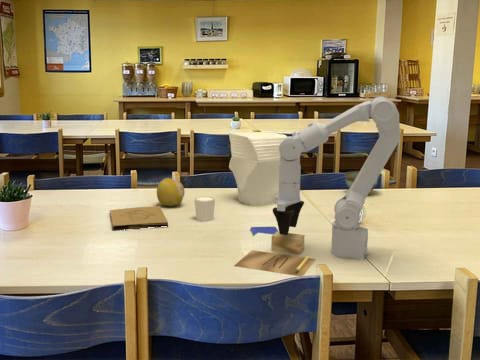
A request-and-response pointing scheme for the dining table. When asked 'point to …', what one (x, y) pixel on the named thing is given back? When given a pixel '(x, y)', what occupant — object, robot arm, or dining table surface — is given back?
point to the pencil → (302, 264)
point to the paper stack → (256, 166)
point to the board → (274, 262)
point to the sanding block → (287, 243)
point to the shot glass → (204, 208)
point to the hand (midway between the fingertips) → (288, 230)
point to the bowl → (351, 178)
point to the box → (137, 218)
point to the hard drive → (263, 230)
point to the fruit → (170, 192)
